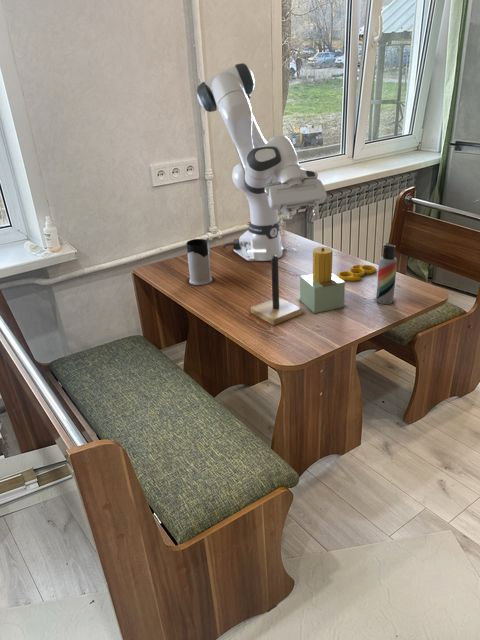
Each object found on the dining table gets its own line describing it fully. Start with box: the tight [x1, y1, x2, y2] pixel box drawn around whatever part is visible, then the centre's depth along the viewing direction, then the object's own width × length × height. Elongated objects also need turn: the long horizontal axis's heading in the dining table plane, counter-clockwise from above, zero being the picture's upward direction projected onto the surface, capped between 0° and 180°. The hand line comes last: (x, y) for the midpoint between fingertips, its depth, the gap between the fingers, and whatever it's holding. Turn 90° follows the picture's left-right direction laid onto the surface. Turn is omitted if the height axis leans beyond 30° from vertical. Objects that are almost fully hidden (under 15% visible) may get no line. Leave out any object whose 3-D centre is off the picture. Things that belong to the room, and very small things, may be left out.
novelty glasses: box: [336, 264, 377, 282], centre depth 200 cm, size 17×2×10 cm
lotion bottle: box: [375, 242, 398, 305], centre depth 175 cm, size 6×6×20 cm
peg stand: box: [250, 255, 303, 326], centre depth 170 cm, size 12×12×20 cm
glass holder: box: [186, 238, 213, 286], centre depth 200 cm, size 9×14×15 cm, turn 159°
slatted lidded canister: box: [312, 246, 337, 287], centre depth 172 cm, size 9×6×11 cm
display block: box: [299, 272, 346, 314], centre depth 178 cm, size 11×11×9 cm
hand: (303, 216), depth 178 cm, fingers open, 8 cm apart
